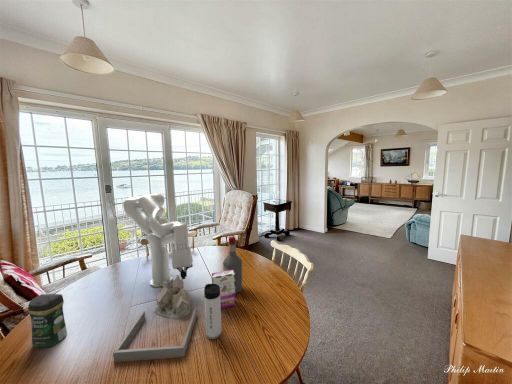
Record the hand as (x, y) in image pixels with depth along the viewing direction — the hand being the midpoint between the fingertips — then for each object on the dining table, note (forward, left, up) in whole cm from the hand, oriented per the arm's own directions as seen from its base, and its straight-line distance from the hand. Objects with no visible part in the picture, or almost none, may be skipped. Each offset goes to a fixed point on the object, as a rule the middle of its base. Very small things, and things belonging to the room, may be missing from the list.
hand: (183, 277), depth 114 cm
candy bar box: (+14, +23, -8) cm, 28 cm away
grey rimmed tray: (+31, -1, -8) cm, 32 cm away
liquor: (+1, +27, -8) cm, 28 cm away
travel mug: (+32, +20, -8) cm, 39 cm away
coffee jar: (+30, -44, -8) cm, 54 cm away
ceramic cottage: (+15, -1, -8) cm, 17 cm away
